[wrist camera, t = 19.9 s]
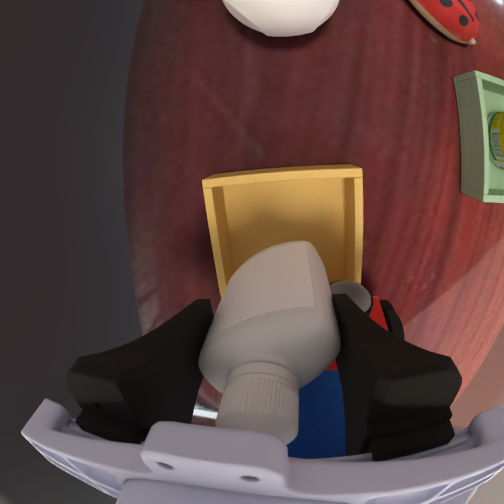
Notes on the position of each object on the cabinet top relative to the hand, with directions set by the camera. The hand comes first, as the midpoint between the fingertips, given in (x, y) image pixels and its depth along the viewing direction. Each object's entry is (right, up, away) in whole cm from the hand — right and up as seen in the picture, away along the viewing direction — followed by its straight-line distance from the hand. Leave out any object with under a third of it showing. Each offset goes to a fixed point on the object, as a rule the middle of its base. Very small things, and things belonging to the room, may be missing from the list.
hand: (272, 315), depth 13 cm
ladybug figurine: (+15, +25, -1) cm, 29 cm away
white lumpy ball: (+1, +21, +3) cm, 21 cm away
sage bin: (+21, +13, +3) cm, 25 cm away
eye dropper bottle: (0, +2, +4) cm, 5 cm away
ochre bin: (+2, +4, +9) cm, 10 cm away
